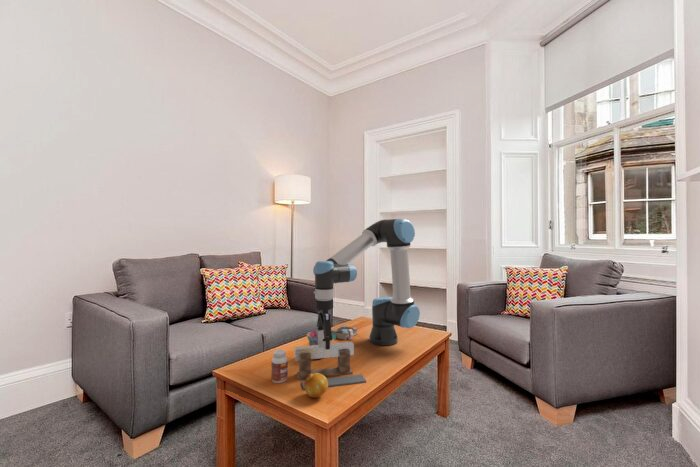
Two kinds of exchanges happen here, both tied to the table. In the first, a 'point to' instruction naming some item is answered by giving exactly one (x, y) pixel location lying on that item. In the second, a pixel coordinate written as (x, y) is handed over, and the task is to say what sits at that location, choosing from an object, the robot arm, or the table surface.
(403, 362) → the table surface
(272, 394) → the table surface
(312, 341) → the mug
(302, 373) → the stand
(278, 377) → the pill bottle
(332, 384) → the felt mat
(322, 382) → the fruit
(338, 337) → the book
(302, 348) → the rail
